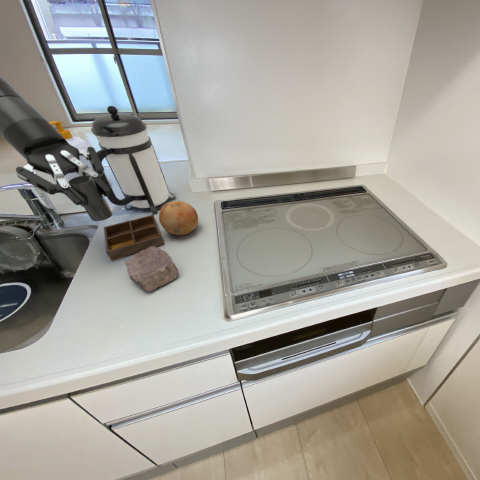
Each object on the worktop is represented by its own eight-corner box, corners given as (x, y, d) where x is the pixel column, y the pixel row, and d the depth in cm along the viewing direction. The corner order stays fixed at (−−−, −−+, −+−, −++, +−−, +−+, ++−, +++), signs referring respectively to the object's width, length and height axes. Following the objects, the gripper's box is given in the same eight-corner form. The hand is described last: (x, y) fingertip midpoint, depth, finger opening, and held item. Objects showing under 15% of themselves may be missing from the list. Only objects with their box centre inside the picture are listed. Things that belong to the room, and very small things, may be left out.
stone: (124, 270, 63) (115, 257, 61) (161, 253, 69) (155, 239, 66) (145, 297, 58) (137, 283, 55) (184, 275, 63) (178, 262, 60)
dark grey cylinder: (91, 223, 56) (67, 186, 50) (91, 214, 59) (68, 178, 53) (113, 218, 58) (92, 181, 52) (112, 209, 61) (92, 173, 55)
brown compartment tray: (111, 261, 66) (106, 252, 64) (108, 235, 73) (103, 227, 72) (164, 244, 72) (161, 236, 70) (156, 222, 79) (153, 214, 77)
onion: (200, 219, 82) (191, 191, 75) (202, 237, 75) (194, 208, 69) (165, 225, 78) (154, 196, 72) (165, 245, 71) (152, 215, 65)
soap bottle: (73, 193, 90) (29, 123, 75) (89, 184, 95) (51, 117, 81) (97, 196, 89) (58, 126, 75) (112, 186, 95) (78, 119, 80)
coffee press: (122, 198, 89) (73, 101, 70) (173, 189, 95) (141, 98, 76) (121, 225, 77) (63, 118, 58) (179, 213, 84) (144, 112, 65)
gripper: (-29, 126, 43) (58, 208, 47) (67, 109, 53) (132, 177, 57) (-20, 151, 48) (58, 223, 52) (66, 131, 58) (126, 192, 62)
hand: (96, 199), depth 55 cm, fingers closed on dark grey cylinder, 4 cm apart
